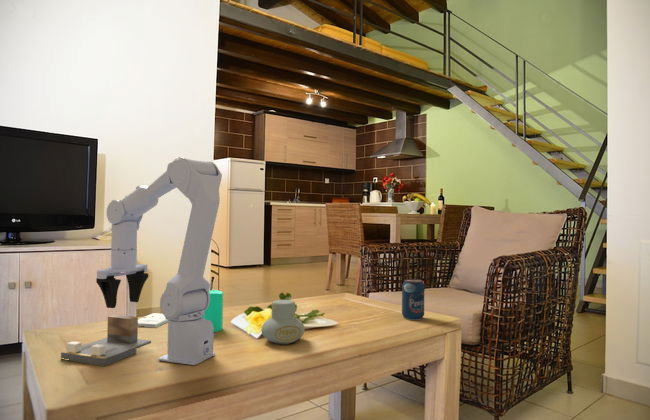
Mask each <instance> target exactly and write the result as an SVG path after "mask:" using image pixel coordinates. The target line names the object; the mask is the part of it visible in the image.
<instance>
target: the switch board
mask: <svg viewBox="0 0 650 420" xmlns="http://www.w3.org/2000/svg"><path fill="white" fill-rule="evenodd" d="M96 344H99V345H106V351H105V354H103V355H101V356H97V355H91V346H93V345H96ZM136 352H137V348H136V347H133V346H125V345H117V344H110V343H102V342H95V341H92V342H89V343H86V344H83V345H81V351H79V352H76V353H73V352H67V350H65V351H61V352H60V359H61V358H64V359H69V360H71V361H70V362H75V363H82V364H89V365H95V366H101V367H106V366H109V365H111V364H113V363H116V362H118V361H121V360H123V359H126V358H129V357H131V356H133V355H135V354H137V353H136Z"/></svg>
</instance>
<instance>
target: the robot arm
mask: <svg viewBox="0 0 650 420" xmlns="http://www.w3.org/2000/svg"><path fill="white" fill-rule="evenodd" d="M222 176H223V174H222V172H221V171H220V169H219V167H218V166H217V165H216V163H214V162H213V161H205V160H204V161H203V160H198V159H191V158H190V159H189V158H186V157H182V156H179V157H176V158H175V159H174V160H172V161H171V162H169V163H168V164H167V166H166V170H165V171H164V172H163V173H162V174H161V175H159V176H158V178H156V179H155V180H154V181H153V182H151V184H149V185H137V186H136V187H135V190H133V191H132V192H131V193H129V194H126V195H125V196H124V197H123V198H122V199H119V200H118V199H112V200H111V201H110V202H109V203H108V205H107V207H106V218H107V220H108V222H109V223H110V224H111V241H110V242H111V244H110V246H111V247H110V252H111V253H110V266H108V267H107V268H104V269H99V270H97V271H96V279H95V281H96V283H97V285H98V287H99V288H100V291H101V293H102V295H103V297H104V302H105V305H106V308H109V309H115V308H116V306H117V300H118V298H117V297H118V293H119V292H118V291H119V287H120V284H121V282H122V280H121V279H117V278H116V277H121V276H125V277H126V281H127V284H128V295H129V302H131V303H139V300H140V298H141V297H140V296H141V293H142V290H143V288H144V285H145V283H146V281H147V280H148V278H149V273H148V264H144V263H142V264H137V257H138V255H137V253H138V252H137V251H138V250H137V244H138V241H137V240H138V231H140V230H139V229H140V223H141V221H142V219H143V215H145V214H146V213H147V212H149V211H150V210H151V209H153V208H155V207H156V206H157V205H158V203H159V199H160V198H161V197H163V196H164V195H166V194H168V193H169V192H171V191H173V190H174V189H178V190H179V192H181V194H183V196H184V197H185V198H188V200H189V202H190V203H191V209H190V214H189V218H188V223H187V228H186V233H185V237H184V242H183V246H182V251H181V255H180V261H179V264H178V268H177V269H178V270H177V273H176V274H174V276H173V277H172V278H171V279H169V280H168V282H167V283H166V285H165V286H166V287H165V289H164V291H163V293H162V294H161V296H160V299H159V309H160V311H161V314H163V315H164V316H165V319H167V320H168V322H167V353H166V354H164V355H162V356H160V357H158V361H162V362H169V363H175V364H181V365H182V364H183V365H189V366H196V365H198V364H200V363H202V362H204V361H205V360H208V359H210V358H212V357H213V356H215V355H216V352H214V333H215V332H214V328H213V324H212V322H211V321H209V320H206V319H204V318H203V317H202V316H203V315H204V311H205V310H206V309H207V308H208V306H209V303H210V296H209V290H210V287H211V283H210V282H209V281H208V280H207V279H206V278H205V277H204V274H205V271H206V265H207V260H208V255H209V252H210V251H209V250H210V248H211V244H212V243H211V242H212V238H213V235H214V229H215V225H216V220H217V215H218V211H219V207H220V199H221V197H220V186H221V182H222V178H223V177H222Z"/></svg>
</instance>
